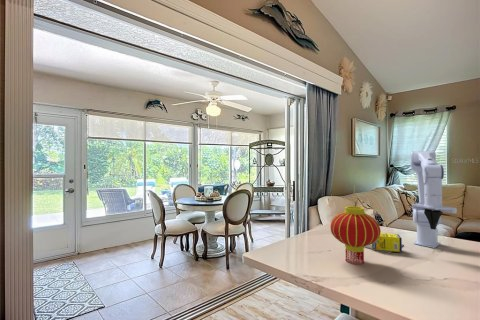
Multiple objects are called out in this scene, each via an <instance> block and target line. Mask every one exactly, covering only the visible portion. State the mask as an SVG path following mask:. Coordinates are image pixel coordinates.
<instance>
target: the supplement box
mask: <svg viewBox="0 0 480 320" xmlns="http://www.w3.org/2000/svg"><path fill="white" fill-rule="evenodd" d="M402 241H403V240H402V237H401V236H400V234H399V233H398V234H397V233H384V232H381V233H380V236H379V238H378V239H377V240H376V241H375V242H374V243H373V244H371V246H372V249H376V250H386V251H393V252H395V253H396V252H397V253H402V252H403V249H402V247H403V246H402V243H403V242H402ZM372 249H371V250H372ZM376 250H375V251H376Z"/></svg>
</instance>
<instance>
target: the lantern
mask: <svg viewBox="0 0 480 320" xmlns="http://www.w3.org/2000/svg"><path fill="white" fill-rule="evenodd" d="M355 187H356V186H353V206H351V205H348V206H345V207H344V211H343V212H340V213H338V214H336V215H335V216H334V217H332V219H331V221H330V227H329V228H330V233H331V235H332V236H333V237H334V238H335V239H336V240H337V241H338V242H340V243H341V244H343V245H344V246H345V262H348V260H349V264H351V265H359V266H360V265H364V264H365V250H364V249H365V248H364V246H368V245H371V244H373V243H374V242H375V241H376V240H377V239H378V238H379V236H380V233H382V232H381V227H380V224H379V223H378V221H377V220H376V219H375V218H374V217H373V216H371V215H369V214H367V213H365V208H364V207H363V206H362V207H361V206H355V205H356V204H355V195H356V194H355Z"/></svg>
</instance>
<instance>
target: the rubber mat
mask: <svg viewBox="0 0 480 320" xmlns="http://www.w3.org/2000/svg"><path fill="white" fill-rule="evenodd" d="M404 245H405V244H402V247H404ZM364 249H369V250H373V251H375V252H376V251H377V252H381V253H384V254H390V255H391V253H394V251H386V250H376V249H372V246H371V245H368V246H364Z"/></svg>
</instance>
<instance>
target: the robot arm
mask: <svg viewBox="0 0 480 320" xmlns="http://www.w3.org/2000/svg"><path fill="white" fill-rule="evenodd" d="M409 162H410V168H411V170H412V171H414V172H415V174H416V179H417V180H416V181H417V192H418V202H417V203H411V209H412V220H413V222H414V223H415V224H416V241H414V242H413V244H414V245H417V246H423V247H428V248H433V249H435V248H436V247H438V246H439V245H440V244H441V242H439V238H438V236H439V235H438V234H439V232H438V226H439V225H440V224H441V221H442V217H441V216H442V215H443V213H450V214H457V213H458V212H457V209H458V208H457V207H452V206H451V207H450V206H445V205H443V179H444V175H445V170H444V169H445V168H444V165H443V164H438V162H437V154H436V152H435V151H434V150H420V151H419V150H418V151H416V150H415V151H413V150H412V151H410V152H409Z"/></svg>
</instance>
